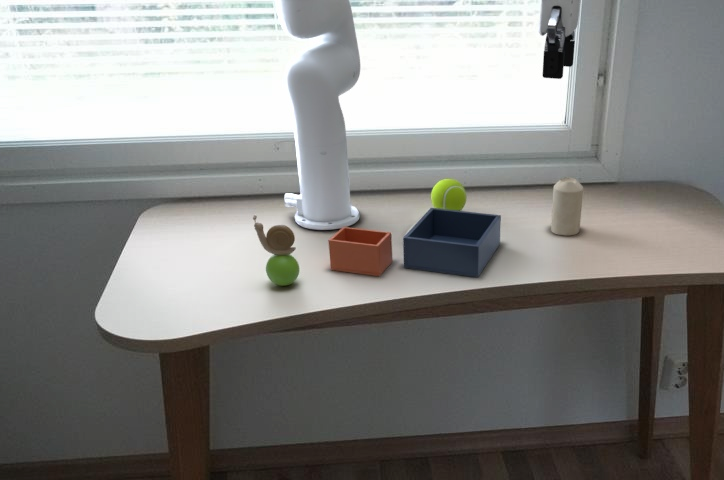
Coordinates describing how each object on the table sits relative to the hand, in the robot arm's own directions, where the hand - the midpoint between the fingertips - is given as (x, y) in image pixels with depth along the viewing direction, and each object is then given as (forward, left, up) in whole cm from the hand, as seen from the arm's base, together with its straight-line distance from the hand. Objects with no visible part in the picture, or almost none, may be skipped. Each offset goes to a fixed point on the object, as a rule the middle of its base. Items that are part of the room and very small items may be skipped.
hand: (558, 71), depth 137 cm
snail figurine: (-39, -29, -31) cm, 58 cm away
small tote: (-29, -18, -31) cm, 46 cm away
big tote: (-15, -9, -31) cm, 35 cm away
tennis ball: (-22, +11, -31) cm, 39 cm away
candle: (+2, +9, -31) cm, 32 cm away
